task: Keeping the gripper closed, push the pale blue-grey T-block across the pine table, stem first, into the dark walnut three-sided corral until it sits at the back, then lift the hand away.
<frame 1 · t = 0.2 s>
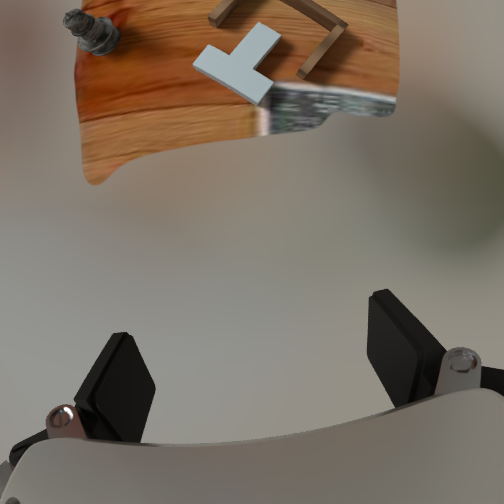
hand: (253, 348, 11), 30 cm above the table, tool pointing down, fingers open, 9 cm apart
t block: (247, 59, 33), on the table
corral: (272, 30, 31), on the table
grey stone statue: (105, 41, 30), on the table
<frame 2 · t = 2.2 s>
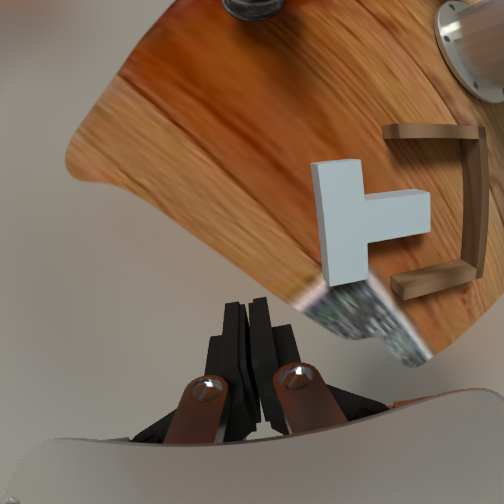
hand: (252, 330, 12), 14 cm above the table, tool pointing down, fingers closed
t block: (370, 213, 24), on the table
corral: (424, 205, 24), on the table
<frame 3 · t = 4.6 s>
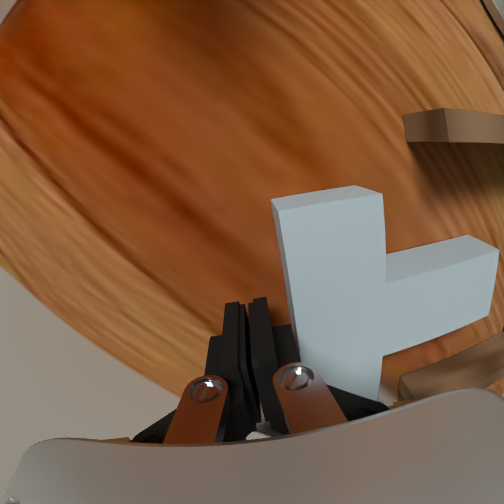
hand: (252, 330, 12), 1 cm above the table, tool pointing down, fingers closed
t block: (391, 287, 13), on the table, touching gripper
corral: (468, 264, 12), on the table
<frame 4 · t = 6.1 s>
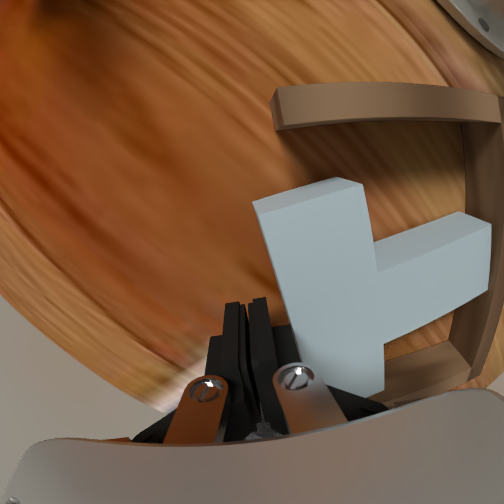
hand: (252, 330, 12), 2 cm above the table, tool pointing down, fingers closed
t block: (385, 273, 13), on the table, touching corral, gripper
corral: (379, 263, 13), on the table
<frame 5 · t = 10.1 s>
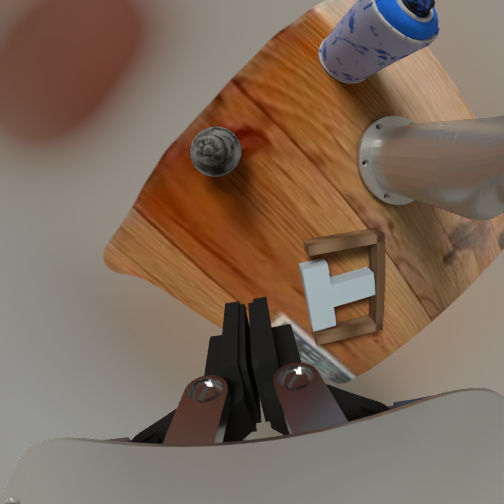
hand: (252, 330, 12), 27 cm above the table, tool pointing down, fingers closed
t block: (337, 286, 41), on the table
aerosol can: (345, 58, 31), on the table
corral: (335, 285, 41), on the table
grey stone statue: (218, 152, 35), on the table
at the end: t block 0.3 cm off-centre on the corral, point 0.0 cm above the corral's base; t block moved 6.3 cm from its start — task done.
